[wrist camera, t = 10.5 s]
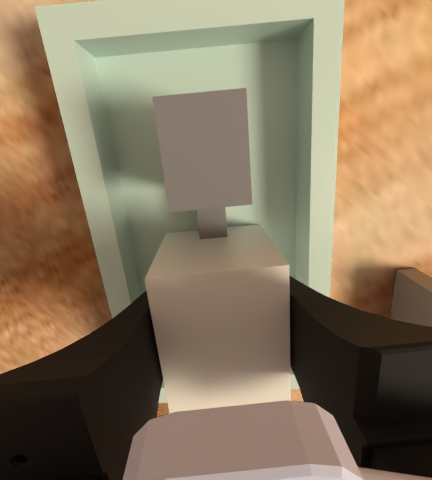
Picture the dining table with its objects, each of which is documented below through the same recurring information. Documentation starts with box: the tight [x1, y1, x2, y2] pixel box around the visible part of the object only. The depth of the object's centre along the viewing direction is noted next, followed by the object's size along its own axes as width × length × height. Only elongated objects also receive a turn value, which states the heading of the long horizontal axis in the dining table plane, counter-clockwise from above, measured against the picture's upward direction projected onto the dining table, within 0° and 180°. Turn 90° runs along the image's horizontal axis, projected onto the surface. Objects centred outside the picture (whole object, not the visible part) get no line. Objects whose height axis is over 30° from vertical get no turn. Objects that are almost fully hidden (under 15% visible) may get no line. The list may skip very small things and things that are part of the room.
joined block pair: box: [144, 88, 291, 413], centre depth 11 cm, size 11×4×5 cm, turn 5°
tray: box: [34, 0, 345, 403], centre depth 13 cm, size 17×10×2 cm, turn 5°
